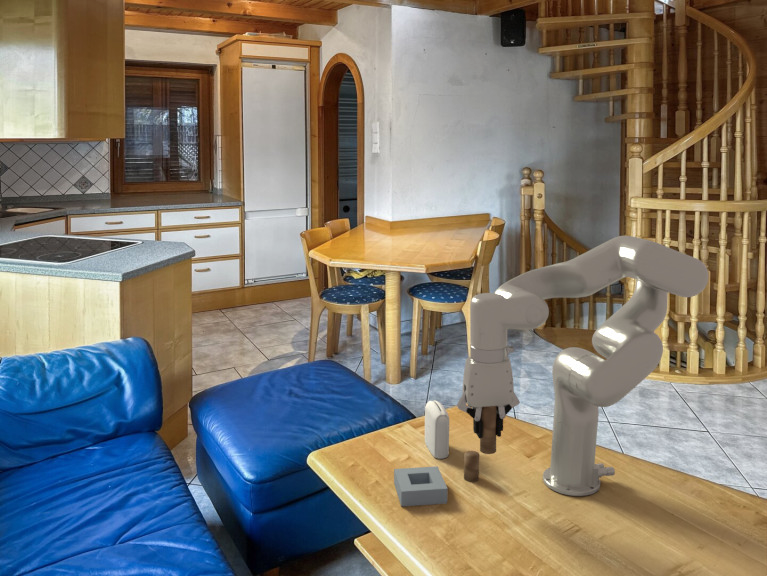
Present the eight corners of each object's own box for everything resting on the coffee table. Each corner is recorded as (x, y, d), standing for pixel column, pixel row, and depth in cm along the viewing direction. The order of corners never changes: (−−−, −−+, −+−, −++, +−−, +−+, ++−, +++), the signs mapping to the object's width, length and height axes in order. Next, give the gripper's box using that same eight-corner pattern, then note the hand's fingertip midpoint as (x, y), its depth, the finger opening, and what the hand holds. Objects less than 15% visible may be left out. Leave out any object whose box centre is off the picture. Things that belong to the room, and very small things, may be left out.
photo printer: (422, 442, 175) (423, 396, 173) (438, 440, 176) (439, 395, 174) (433, 460, 166) (434, 412, 163) (450, 458, 167) (452, 411, 164)
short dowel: (476, 474, 159) (477, 450, 158) (480, 481, 156) (481, 456, 155) (462, 475, 159) (462, 451, 157) (466, 482, 155) (466, 457, 154)
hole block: (437, 480, 156) (437, 466, 155) (447, 503, 146) (447, 488, 146) (394, 483, 155) (394, 469, 154) (401, 506, 145) (401, 491, 144)
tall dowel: (493, 446, 148) (493, 394, 145) (498, 453, 145) (498, 400, 142) (478, 447, 148) (478, 395, 145) (482, 454, 144) (482, 402, 142)
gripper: (521, 344, 146) (519, 424, 150) (445, 350, 144) (446, 430, 148) (533, 356, 139) (531, 439, 143) (454, 362, 136) (454, 446, 141)
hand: (488, 434), depth 145 cm, fingers closed on tall dowel, 3 cm apart
